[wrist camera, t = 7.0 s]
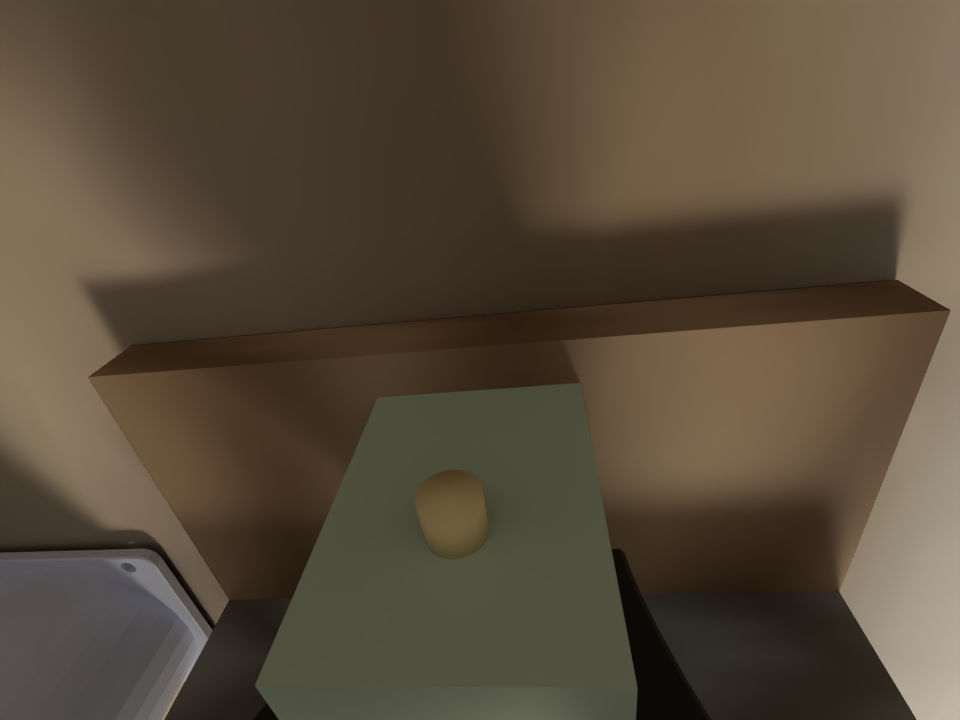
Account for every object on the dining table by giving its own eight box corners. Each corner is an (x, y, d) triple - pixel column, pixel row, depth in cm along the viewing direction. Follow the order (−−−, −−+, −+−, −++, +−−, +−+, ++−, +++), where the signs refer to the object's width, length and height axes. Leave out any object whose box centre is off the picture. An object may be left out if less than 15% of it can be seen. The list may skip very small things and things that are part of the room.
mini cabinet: (434, 588, 15) (387, 872, 9) (369, 367, 11) (228, 648, 6) (588, 585, 14) (627, 887, 9) (578, 350, 10) (639, 647, 5)
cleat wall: (266, 586, 18) (185, 752, 13) (131, 345, 13) (-68, 489, 8) (801, 577, 15) (908, 773, 11) (897, 279, 10) (1162, 430, 6)
